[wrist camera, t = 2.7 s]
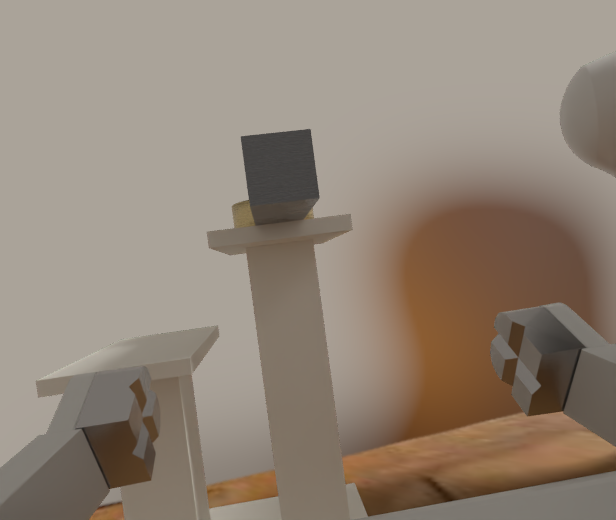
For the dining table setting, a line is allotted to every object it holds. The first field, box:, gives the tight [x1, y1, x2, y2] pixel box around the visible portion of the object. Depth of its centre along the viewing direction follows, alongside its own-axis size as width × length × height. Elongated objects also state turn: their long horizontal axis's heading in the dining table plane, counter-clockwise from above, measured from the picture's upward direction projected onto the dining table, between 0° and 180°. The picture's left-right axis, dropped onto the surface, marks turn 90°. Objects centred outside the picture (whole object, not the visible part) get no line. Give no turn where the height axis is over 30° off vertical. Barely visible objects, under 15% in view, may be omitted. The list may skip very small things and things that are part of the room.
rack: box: [36, 214, 368, 520], centre depth 36 cm, size 16×20×26 cm
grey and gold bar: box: [232, 129, 319, 228], centre depth 32 cm, size 24×7×3 cm, turn 5°
